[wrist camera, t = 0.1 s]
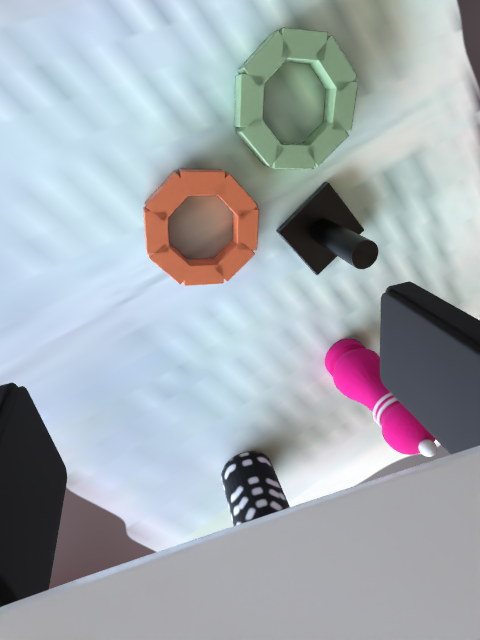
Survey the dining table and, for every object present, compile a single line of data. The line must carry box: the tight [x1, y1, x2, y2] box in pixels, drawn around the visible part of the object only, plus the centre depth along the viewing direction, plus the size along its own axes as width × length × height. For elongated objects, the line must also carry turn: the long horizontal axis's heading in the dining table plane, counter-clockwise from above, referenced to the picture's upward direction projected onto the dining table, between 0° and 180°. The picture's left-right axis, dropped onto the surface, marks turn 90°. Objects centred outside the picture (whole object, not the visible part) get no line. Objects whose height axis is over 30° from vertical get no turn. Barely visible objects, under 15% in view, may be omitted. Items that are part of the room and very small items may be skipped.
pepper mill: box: [325, 339, 437, 457], centre depth 51 cm, size 7×7×20 cm
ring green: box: [234, 28, 358, 169], centre depth 42 cm, size 12×12×2 cm
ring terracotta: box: [143, 169, 259, 286], centre depth 45 cm, size 12×12×2 cm
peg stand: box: [277, 182, 378, 275], centre depth 45 cm, size 8×8×11 cm
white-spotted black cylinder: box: [221, 452, 290, 526], centre depth 56 cm, size 8×8×20 cm
